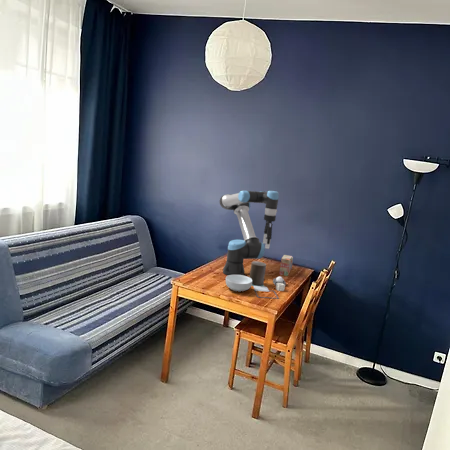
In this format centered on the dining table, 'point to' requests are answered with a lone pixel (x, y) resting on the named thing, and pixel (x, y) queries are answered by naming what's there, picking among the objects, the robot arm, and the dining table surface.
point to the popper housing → (279, 282)
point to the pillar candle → (257, 273)
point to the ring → (267, 297)
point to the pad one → (261, 288)
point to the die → (280, 286)
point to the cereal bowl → (238, 282)
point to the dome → (279, 279)
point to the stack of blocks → (286, 265)
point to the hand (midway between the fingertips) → (266, 246)
